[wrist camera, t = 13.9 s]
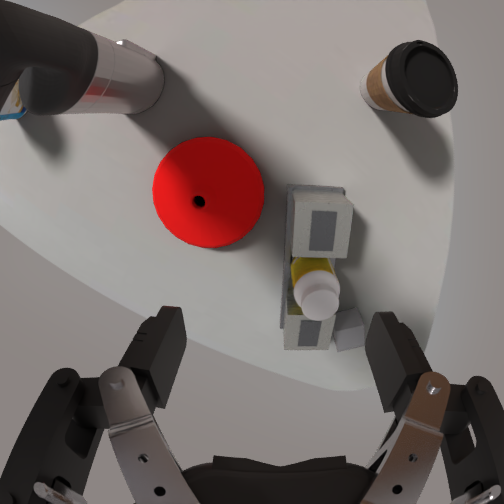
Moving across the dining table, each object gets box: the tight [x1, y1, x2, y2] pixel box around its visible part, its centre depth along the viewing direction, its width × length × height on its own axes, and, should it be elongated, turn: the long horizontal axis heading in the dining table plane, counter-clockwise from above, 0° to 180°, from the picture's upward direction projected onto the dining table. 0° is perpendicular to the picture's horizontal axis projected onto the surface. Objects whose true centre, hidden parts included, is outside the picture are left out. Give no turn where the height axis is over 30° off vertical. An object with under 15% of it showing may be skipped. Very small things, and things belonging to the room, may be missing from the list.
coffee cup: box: [360, 40, 458, 118], centre depth 24 cm, size 8×8×15 cm
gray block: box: [333, 308, 365, 352], centre depth 45 cm, size 5×5×5 cm
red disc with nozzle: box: [152, 137, 264, 248], centre depth 36 cm, size 16×16×7 cm
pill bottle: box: [290, 257, 340, 321], centre depth 37 cm, size 6×6×11 cm
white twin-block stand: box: [280, 184, 354, 350], centre depth 39 cm, size 24×8×8 cm, turn 0°
